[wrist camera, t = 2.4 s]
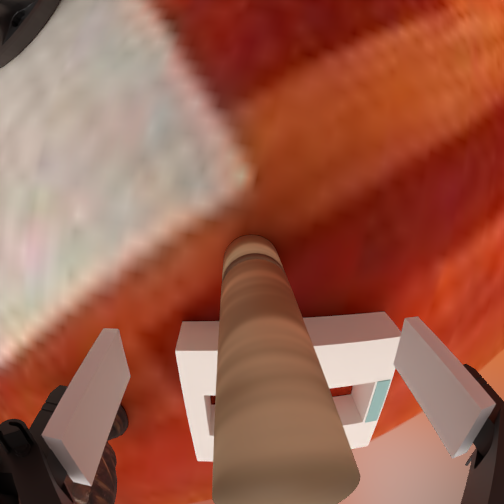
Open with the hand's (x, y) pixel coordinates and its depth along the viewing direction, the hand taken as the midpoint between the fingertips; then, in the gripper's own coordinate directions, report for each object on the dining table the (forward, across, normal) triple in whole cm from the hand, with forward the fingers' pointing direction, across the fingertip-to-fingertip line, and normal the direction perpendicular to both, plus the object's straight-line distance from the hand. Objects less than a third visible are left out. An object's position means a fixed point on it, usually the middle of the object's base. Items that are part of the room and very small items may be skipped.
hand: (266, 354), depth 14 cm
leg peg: (+11, 0, 0) cm, 11 cm away
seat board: (+11, +3, -12) cm, 16 cm away
